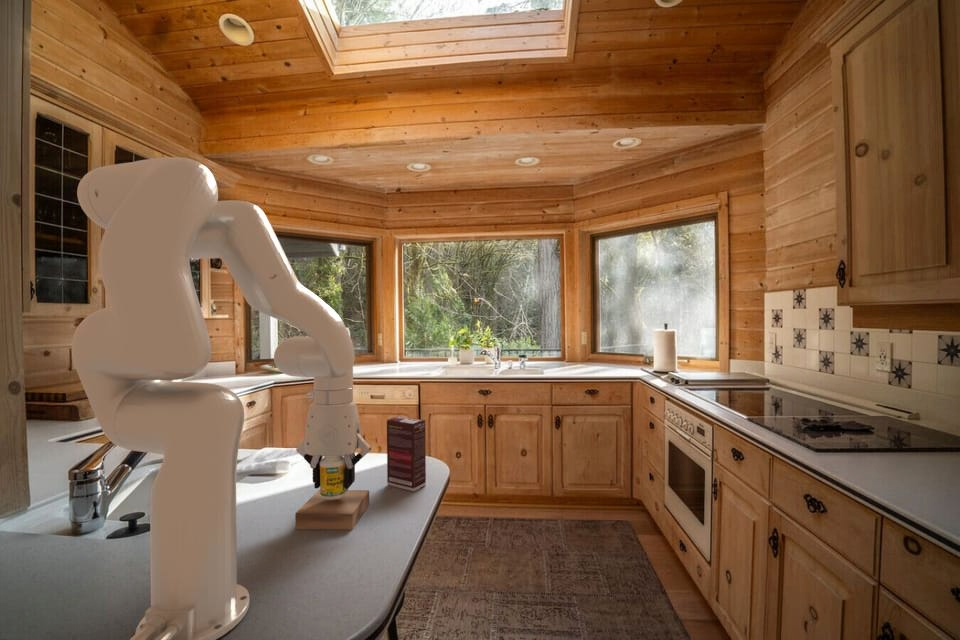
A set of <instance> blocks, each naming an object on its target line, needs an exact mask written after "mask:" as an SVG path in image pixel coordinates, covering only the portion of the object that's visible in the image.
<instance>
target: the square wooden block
mask: <svg viewBox="0 0 960 640" xmlns="http://www.w3.org/2000/svg"><path fill="white" fill-rule="evenodd" d="M369 505H370V490H369V489H367V490H366V489H356V490H355V489H354V490H353V489H352V490H349V489H348V493H347V494H346V495H345V496H343V497H341V498H339V499H333V500H327V499H323V498H322V497H321V496H320V489H318V490H317V491H316V492H315V493H314V494H313V495H312V496H311V497H310V498H309V499H308V500H307V501H306V502H305V503H304V504H303V505H302V506H301V507H300V508H298V510H297V511H296V512H295V518H294V519H295V523H294V524H295V529H296V530H348V531H349V530H354V529H355V527H356V525H357V523H358V522H359V521H360V519H361V517H362V516H363V515H364V513H365V512H366V510H367V508H368V507H369Z"/></svg>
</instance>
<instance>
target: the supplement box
mask: <svg viewBox="0 0 960 640" xmlns="http://www.w3.org/2000/svg"><path fill="white" fill-rule="evenodd" d="M426 453H427V452H426V420H425V419H421V418H419V419H418V418H414V417H406V416H400V415H399V416H395V417H392V418H388V419H386V459H387V460H386V468H387V469H386V470H387V471H386V474H387V475H386V476H387V477H386V479H387V480H386V483H387V486H391V487H395V488H398V489H402V490H407V491H410V492H416V491H418V490H420V489H422V488H424V487H425V486H426V484H427V481H426V480H427V479H426V478H427V471H426V470H427V469H426V467H427V466H426V465H427V464H426V463H427V462H426ZM423 486H424V487H423ZM421 487H422V488H421Z"/></svg>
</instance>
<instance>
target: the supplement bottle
mask: <svg viewBox="0 0 960 640" xmlns="http://www.w3.org/2000/svg"><path fill="white" fill-rule="evenodd" d="M345 468H346V462H345V459H344V456H323V458H322V460H321V461H320V487H319V490H320V496H321V497H322V498H323V499H327V500H333V499H339V498H341V497H343V496H345V495H346V494H347V493H348V490H349V488H348V489H345V488H344V470H345Z"/></svg>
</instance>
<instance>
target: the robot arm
mask: <svg viewBox="0 0 960 640" xmlns="http://www.w3.org/2000/svg"><path fill="white" fill-rule="evenodd" d="M76 189H77V192H76V195H77V200H78V203H79V206H80V207H81V210H82V211H83V213H84V214H85V215H86V216H87V218H89V219H90V220H91V221H92V222H93V223H94V224H96V225H97V226H99V227H101V229H104V233H103V235H102V238H101V240H100V246H99V250H98V266H99V268H98V269H99V273H100V277H101V280H102V283H103V287H104V289H105V290H104V291H105V294H106V299H107V302H108V304H109V306H107V307H103V308H100V309H98V310H96V311H94V312H91V313H90V314H88V315H87V316H86V317H85V318H83V320H82V321H81V322H80V323H79V325H78V326H77V327H76V330H75V332H74V335H73V338H72V343H71V353H72V354H71V355H72V361H73V364H74V367H75V370H76V372H77V375H78V377H79V379H80V380H79V381H80V383H81V385H82V387H83V389H84V392H85V395H86V396H87V399H88V401H89V404H90V407H91V409H92V411H93V413H94V415H95V418H96V421H97V422H98V425H99V426H100V428H101V430H102V432H103V433H104V435H105V436H106V438H107V439H108V440H109V441H110V442H112V443H113V444H114V445H116V446H117V447H119V448H121V449H124V450H129V451H134V452H142V453H149V454H158V455H162V456H163V460H162V463H161V465H160V467H159V471H158V473H156V476H155V479H154V481H153V482H152V483H153V484H152V486H151V490H150V496H149V497H150V498H149V517H150V518H149V519H150V520H149V521H150V523H149V525H150V526H149V527H150V534H149V536H150V540H149V541H150V542H149V543H150V607H149V608H148V609H146V610H145V615H144V616H143V617H142V618H141V620H140V621H139V622H138V625H137V626H136V629H135V633H134V635H133V636H132V637H131V638H130V639H129V640H218V639H219V638H221V637H223V636H224V635H226V634H227V633H228V632H230V631H231V630H233V628H235V627H236V626H237V625H238V624H240V622H241V621H243V618H244V617H246V614H247V612H248V611H249V607H250V604H251V602H250V601H251V598H250V597H251V595H250V593H249V590H248V589H247V588H246V587H245V586H243V585H241V584H238V577H237V576H238V575H237V573H238V572H237V570H238V566H237V565H238V561H237V558H238V555H237V553H238V552H237V548H238V547H237V545H238V544H237V543H238V541H237V540H238V539H237V535H238V534H237V533H238V532H237V531H238V530H237V528H238V527H237V517H238V516H237V513H238V512H237V466H238V456H239V449H240V444H241V443H240V442H241V439H242V436H243V435H242V434H243V430H244V423H245V408H244V405H243V403H242V401H241V399H240V398H239V396H238V395H237V394H236V393H235V392H233V391H232V390H231V389H229V388H227V387H224V386H222V385H219V384H216V383H209V382H198V381H197V382H196V381H195V382H194V381H177V380H184V379H187V378H191V377H194V376H196V375H197V374H199V373H201V372H202V371H204V369H205V368H206V367H207V366H208V365H209V362H210V360H211V358H212V343H211V338H210V334H209V330H208V327H207V323H206V321H205V317H204V314H203V311H202V306H201V304H200V301H199V297H198V294H197V291H196V288H195V283H194V281H193V280H194V279H193V276H192V272H191V271H192V270H191V262H190V261H191V259H195V260H196V259H197V260H207V259H221V261H222V262H223V264H224V266H225V267H226V269H227V270H228V272H229V273H230V275H231V277H232V278H233V280H234V282H235V284H236V285H237V287H238V288H239V291H240V293H241V294H242V295H243V297H244V299H245V301H246V303H247V304H248V305H249V306H250V307H251V308H253V309H254V310H256V311H257V312H259V313H261V314H264V315H265V316H268V317H271V318H273V319H276V320H279V321H282V322H284V323H287V324H289V325H291V326H293V327H295V328H298V330H301V331H302V332H304V333H305V334H306V335H307V336H293V337H289V338H287V339H284V340H283V341H282V342H280V343H279V344H278V345H277V347H276V349H275V351H274V353H273V361H274V364H275V367H276V368H277V370H278V371H279V372H280V373H282V374H283V375H286V376H290V377H296V378H297V377H298V378H313V389H312V390H311V391H310V390H308V391H307V394H306V395H307V396H306V397H307V398H308V399H312V402H313V403H311V404H309V406H308V410H307V416H306V422H305V423H306V424H305V432H304V433H305V434H304V439H303V441H302V442H301V443H300V444H299V445H298V446H297V447H296V450H295V451H296V453H298V454H299V455H300V456H302V457H303V459H304V460H305V461H306V462H307V464H309V467H310V468H311V469H312V483H314V489H318V488H319V489H320V461H321V460H322V459H323V458H324V456H344V459H345V462H346V468H345V470H344V488H345V489H348V490H349V488H350V487H351V486H352V485H353V483H355V480H356V465H357V464H358V463H359V462H360V460H362V459H363V458H364V457H365V456H366V455H367V454H369V453H370V452H371V450H372V447H371V445H370V444H368V442H367V441H366V440H365V438H363V436H362V435H361V425H360V424H361V423H360V417H359V411H358V406H357V402H356V401H354V364H355V357H356V355H355V354H356V353H355V348H354V344H353V341H352V338H351V337H350V334H349V332H348V330H347V329H348V328H347V327H346V325H345V323H344V321H343V320H342V318H341V316H340V315H339V314H338V313H337V312H336V310H335V309H333V308H332V307H331V306H330V305H329V304H328V303H326V302H325V301H324V300H323V299H322V298H321V297H320V296H317V294H315V293H314V292H313V291H311V290H310V289H309V288H307V287H305V286H304V285H303V284H302V283H301V282H300V281H299V280H298V278H297V275H296V274H295V271H294V269H293V267H292V265H291V263H290V261H289V259H288V257H287V255H286V252H285V251H284V249H283V246H282V244H281V243H280V241H279V239H278V237H277V234H276V233H275V230H274V228H273V227H272V225H271V222H270V221H269V219H268V216H267V214H265V212H264V211H263V210H262V209H261V208H260V207H259V206H258V205H256V204H254V203H253V202H250V201H246V200H239V199H237V200H236V199H233V200H232V199H231V200H230V199H229V200H219V188H218V184H217V180H216V178H215V176H214V174H213V173H212V172H211V170H210V169H209V168H208V167H207V166H205V165H204V164H202V163H201V162H200V161H196V160H194V159H192V158H187V157H178V156H177V157H176V156H175V157H174V156H172V157H171V156H170V157H167V156H166V157H157V158H156V157H155V158H147V159H142V160H136V161H132V162H130V161H129V162H123V163H122V162H121V163H117V164H116V163H115V164H109V165H104V166H99V167H97V168H94V169H92V170H89V171H88V172H87V173H86V174H85V175H83V177H82V178H81V179H80V181H79V183H78V186H77V188H76ZM357 449H360V451H359V452H358V453H357V454H356V453H355V452H356V450H357Z"/></svg>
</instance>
